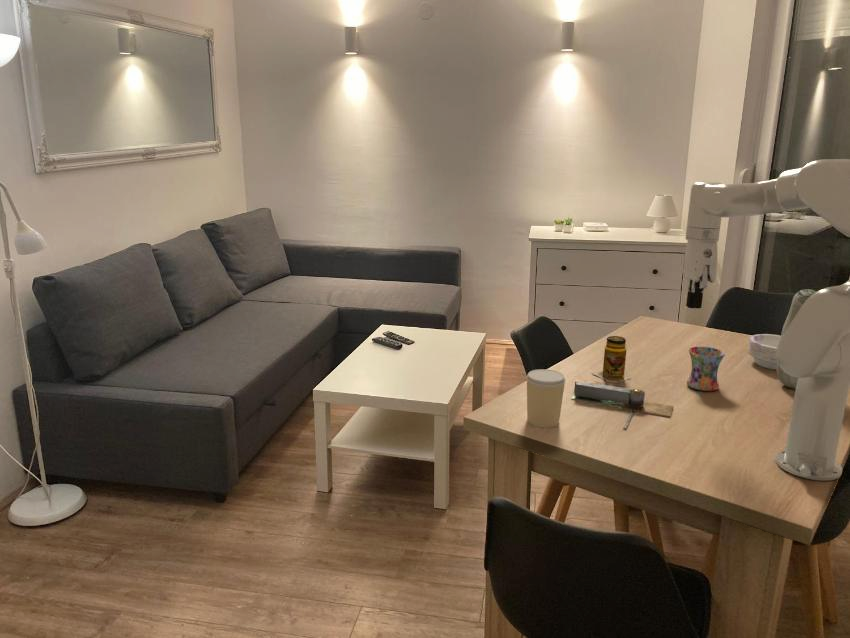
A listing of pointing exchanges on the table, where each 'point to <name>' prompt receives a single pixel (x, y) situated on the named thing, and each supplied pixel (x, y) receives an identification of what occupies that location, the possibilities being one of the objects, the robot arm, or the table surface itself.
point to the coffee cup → (544, 397)
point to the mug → (704, 368)
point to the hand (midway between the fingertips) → (693, 307)
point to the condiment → (614, 360)
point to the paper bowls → (764, 349)
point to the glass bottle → (795, 307)
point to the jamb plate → (648, 410)
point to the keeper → (592, 400)
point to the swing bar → (610, 393)
